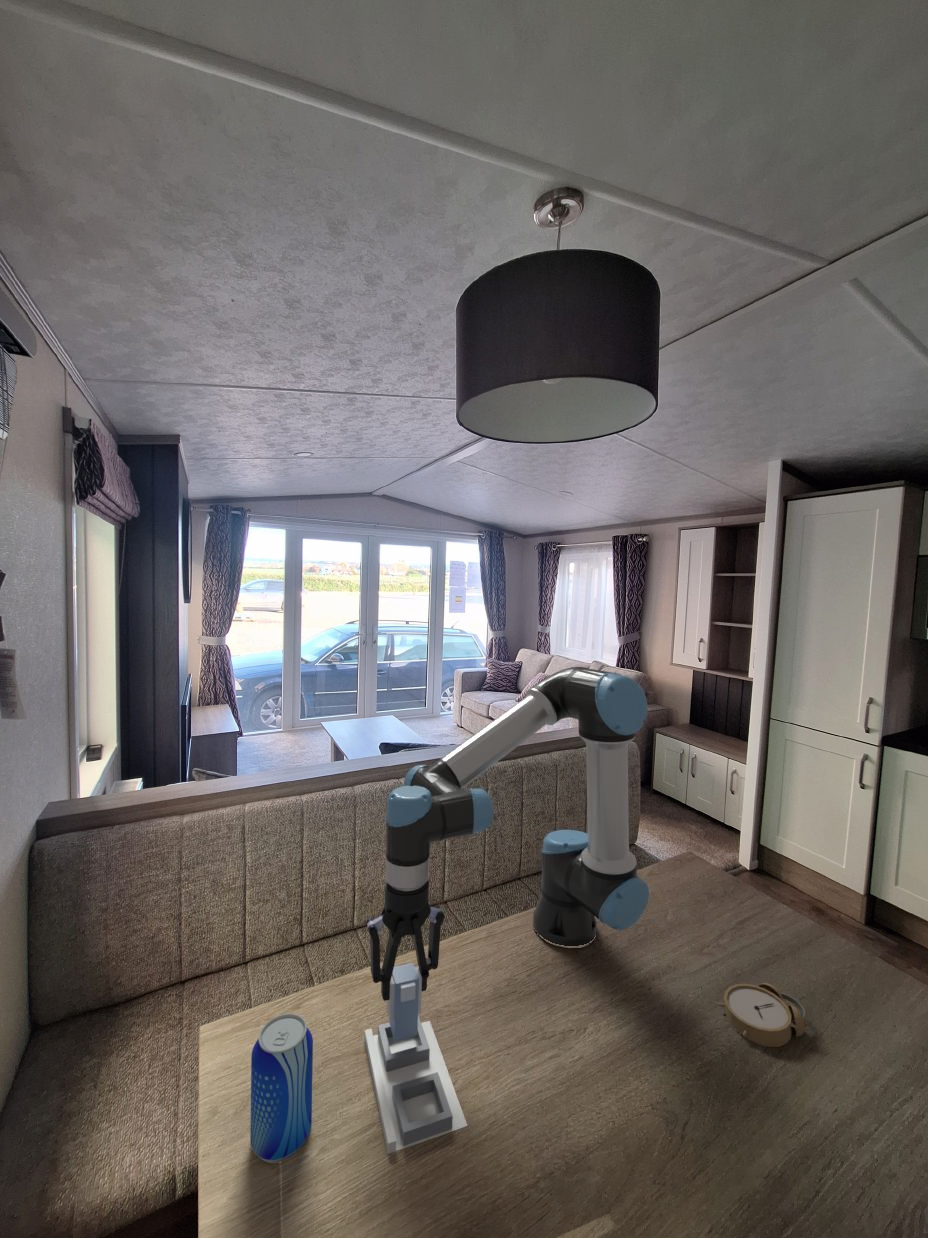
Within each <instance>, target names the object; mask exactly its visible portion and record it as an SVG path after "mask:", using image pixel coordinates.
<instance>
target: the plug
mask: <svg viewBox="0 0 928 1238" xmlns="http://www.w3.org/2000/svg"><path fill="white" fill-rule="evenodd" d="M415 967H416V966H415V964H414V962H411V963H405V964H402V965H401V964H400V965H397V966H394V969H393V973H392V976H393V979H394V982H395V999H394V1021H391V1022H390V1021H389V1020H388V1022H389V1023H390V1027H391V1031H392V1035H393V1038H394V1041H398V1040H402V1039H405V1038H409V1037H412V1036H416V1035H417V1028H418V1015H419V1014H418V992H419V978H418V975H417V972H416V969H415Z"/></svg>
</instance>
